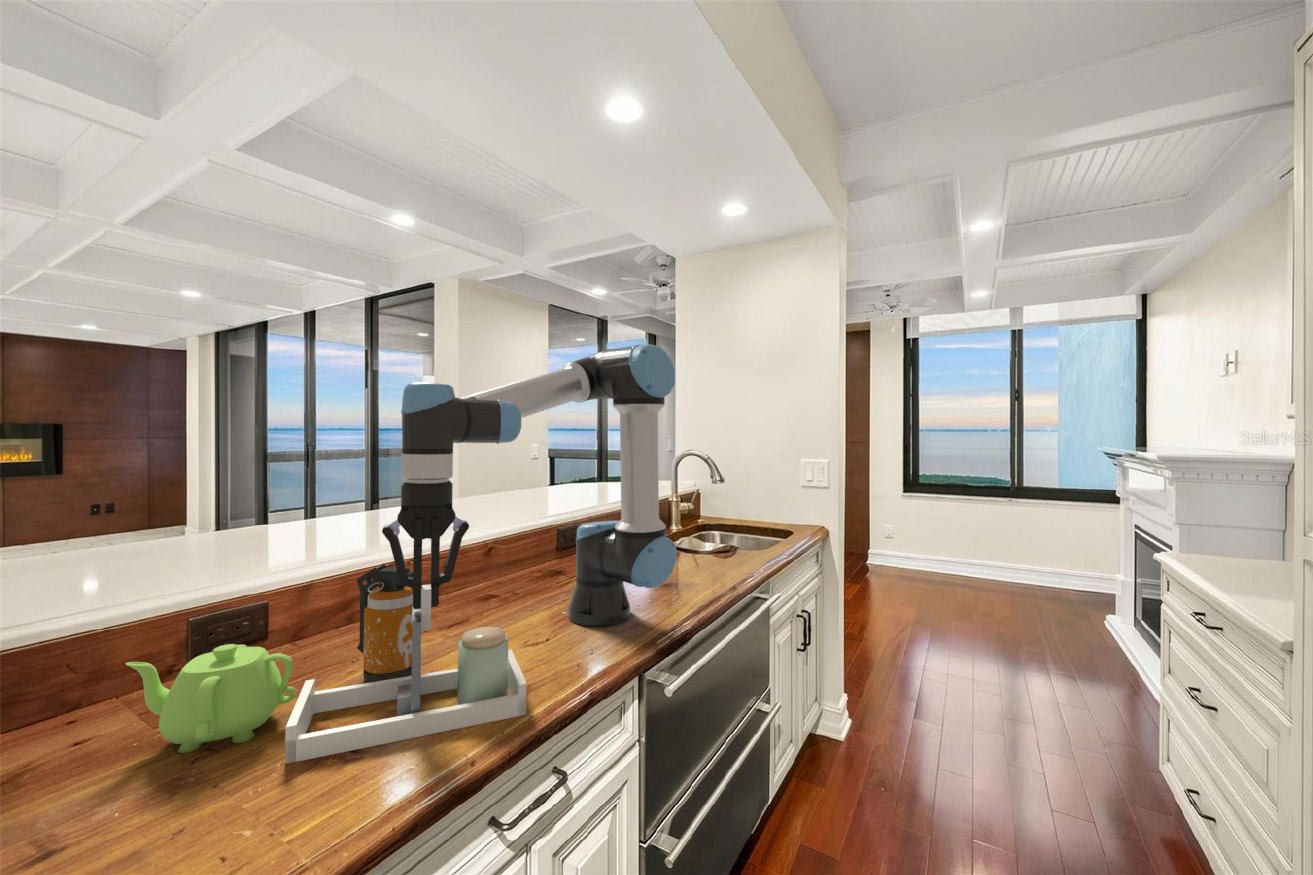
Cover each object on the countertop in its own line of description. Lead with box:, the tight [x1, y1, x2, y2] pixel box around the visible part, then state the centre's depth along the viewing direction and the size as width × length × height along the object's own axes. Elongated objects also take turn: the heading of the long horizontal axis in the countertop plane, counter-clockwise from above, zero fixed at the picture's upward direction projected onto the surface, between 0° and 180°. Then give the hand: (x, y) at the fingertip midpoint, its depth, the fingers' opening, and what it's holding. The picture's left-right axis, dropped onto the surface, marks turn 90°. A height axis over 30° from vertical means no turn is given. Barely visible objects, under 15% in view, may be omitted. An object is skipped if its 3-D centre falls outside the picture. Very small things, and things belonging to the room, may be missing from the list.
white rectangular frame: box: [284, 648, 527, 765], centre depth 84 cm, size 32×14×5 cm, turn 114°
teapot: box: [125, 643, 297, 754], centre depth 78 cm, size 16×14×13 cm
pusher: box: [396, 608, 422, 717], centre depth 84 cm, size 3×11×16 cm, turn 25°
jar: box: [456, 626, 509, 705], centre depth 88 cm, size 8×8×11 cm
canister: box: [356, 564, 413, 683], centre depth 97 cm, size 9×11×20 cm
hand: (425, 627), depth 85 cm, fingers closed
